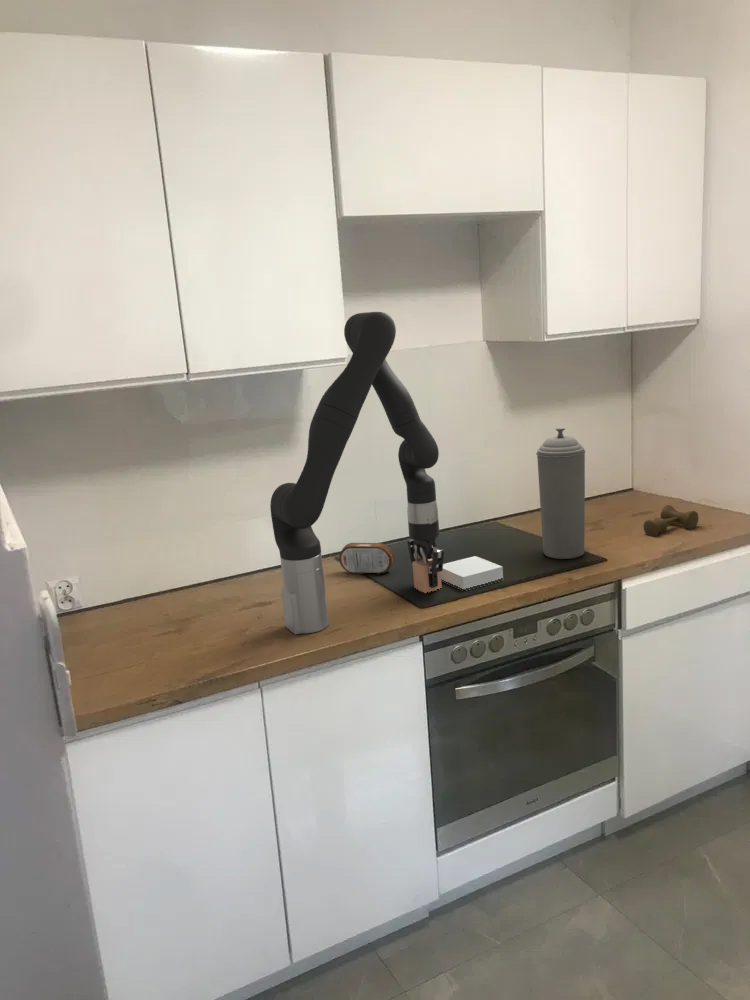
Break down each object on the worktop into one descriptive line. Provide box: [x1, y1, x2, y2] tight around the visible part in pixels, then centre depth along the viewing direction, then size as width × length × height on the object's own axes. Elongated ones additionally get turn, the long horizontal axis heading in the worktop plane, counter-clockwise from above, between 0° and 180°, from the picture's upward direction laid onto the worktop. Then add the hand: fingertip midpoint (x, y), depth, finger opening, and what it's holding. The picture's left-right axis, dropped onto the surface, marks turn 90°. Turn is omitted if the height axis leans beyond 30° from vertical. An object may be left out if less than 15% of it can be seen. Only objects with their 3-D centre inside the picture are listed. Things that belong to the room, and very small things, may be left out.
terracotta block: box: [411, 559, 443, 594], centre depth 196 cm, size 5×5×7 cm
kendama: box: [643, 504, 699, 537], centre depth 229 cm, size 6×10×20 cm
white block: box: [441, 555, 504, 589], centre depth 201 cm, size 12×12×4 cm
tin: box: [338, 542, 395, 575], centre depth 213 cm, size 15×3×8 cm, turn 74°
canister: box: [535, 426, 586, 560], centre depth 211 cm, size 13×13×35 cm
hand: (427, 583), depth 197 cm, fingers closed on terracotta block, 5 cm apart
